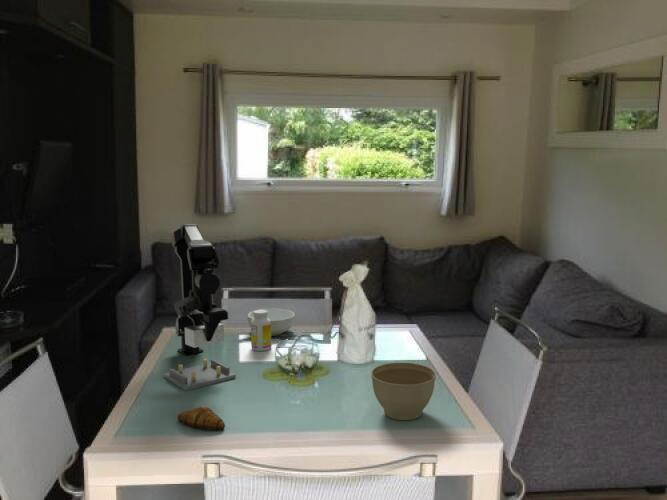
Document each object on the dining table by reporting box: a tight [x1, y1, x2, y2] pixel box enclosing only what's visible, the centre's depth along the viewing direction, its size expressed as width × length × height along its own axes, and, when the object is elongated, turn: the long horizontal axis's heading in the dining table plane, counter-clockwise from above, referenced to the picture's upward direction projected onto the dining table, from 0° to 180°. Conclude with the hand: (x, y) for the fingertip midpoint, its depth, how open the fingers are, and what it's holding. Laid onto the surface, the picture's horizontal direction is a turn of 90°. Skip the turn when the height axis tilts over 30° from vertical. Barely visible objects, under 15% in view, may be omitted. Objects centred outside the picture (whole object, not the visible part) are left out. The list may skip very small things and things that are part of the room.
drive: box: [185, 323, 225, 348], centre depth 191 cm, size 5×10×5 cm, turn 133°
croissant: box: [176, 406, 226, 431], centre depth 159 cm, size 14×7×5 cm, turn 65°
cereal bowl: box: [247, 308, 296, 337], centre depth 237 cm, size 17×17×7 cm
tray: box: [163, 358, 237, 392], centre depth 192 cm, size 14×16×4 cm
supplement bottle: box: [250, 309, 272, 352], centre depth 218 cm, size 7×7×13 cm
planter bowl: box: [370, 361, 437, 421], centre depth 165 cm, size 16×16×11 cm
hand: (204, 339), depth 192 cm, fingers closed on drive, 5 cm apart
